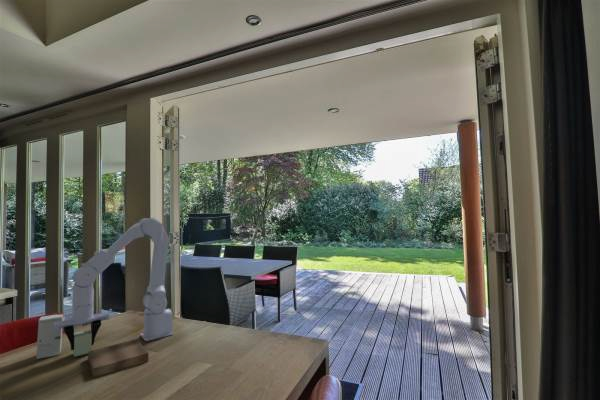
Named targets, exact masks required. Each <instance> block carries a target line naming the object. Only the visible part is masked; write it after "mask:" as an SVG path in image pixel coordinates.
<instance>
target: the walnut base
mask: <svg viewBox="0 0 600 400" xmlns="http://www.w3.org/2000/svg"><path fill="white" fill-rule="evenodd" d="M87 362H88V364H89V367H90V371H91V375H92V378H97V377H101V376H103V375H104V376H105V375H107V374H110V373H113V372H117V371H120V370H124V369H127V368H130V367H134V366H136V365H140V364H143V363H147V362H149V352H148V350H147V349H146V348H145V346H144V345H143V344H142V342H141V341H140V340H139V339H138V338H136V339H133V340H128V341H124V342H121V343H117V344H111V345H108V346H105V347H101V348H97V349H93V350H92V349H91V351H88V353H87Z"/></svg>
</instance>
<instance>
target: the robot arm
mask: <svg viewBox="0 0 600 400" xmlns="http://www.w3.org/2000/svg"><path fill="white" fill-rule="evenodd" d="M144 237H146V238H148V239H149V240H151V242H153V250H152V259H151V265H150V266H151V267H150V274H149V275H150V276H149V284H148V286H147V288H146V293H145V295H144V296H143V298H142V304H143V306H144V308H145V309H144V311H143V332H142V333H140V336H141V338H142V339H143V340H144V341H145V342H148V341H153V340H156V339H161V338H164V337H168V336H171V335H174V333H173V312H172V309H171V308H167V305H168V300H167V298H166V294H167V293H166V288H165V279H166V269H167V259H168V254H169V252H168V251H169V243H170V238H169V235H168V234H167V231H166V230H165V228H164V224H163V223H162V222H161V221H160V220H159V219H156V218H154V217H149V218H147V217H143V218H141V219H139V220H138V221H137V222H136V223H134V224H133V225H132V226H130V227H129V228H128V229H127V230H126V231H125V232H124V233H123V234H122V235H121V236H119V238H117V239H116V240H115V241H114V242H113V243H112V244H111V245H110V246H109V247H108V248H104V249H100V250H99V251H98V250H96V251H95V252H94V253H93V256H92V257H91V258H90V259H88V261H86V262H85V263H84V262H83V263H81V267H79V268H77V269H75V270H74V271H73V274H72V276H71V280H72V282H73V287H72V289H73V290H72V300H71V301H72V303H71V304H72V309H71V318H69V319H63V321H61V322H56V323H54V331H55V330H59V329H62V330H63V332H64V333H65V334H64V335H66V337H67V339H68V341H69V344H70V351H73V350H74V333H75V328H74V327H76V326H77V327H78V326H82V325H85V324H86V325H87V324H90V330H91V333H92V346H94V344H95V340H96V336H97V334H98V331H99V330H100V328H101V325H102V321H108V320H110V313H109V312H104V313H94V310H95V308H94V306H95V302H94V301H95V289H94V283H95V282H96V279H97V276H99V275H101V274H102V273H103V272H104V271H105V270H106V269H107V268H108V267H109V266H110V265H112V264H113V262H115V259H116V255H117V254H118V253H119V252H121V251H122V250H123V249H124V248H125V247H127V245H128V244H130V243H131V242H132V241H133V240H136V239H138V238H144Z"/></svg>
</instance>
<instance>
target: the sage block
mask: <svg viewBox="0 0 600 400" xmlns="http://www.w3.org/2000/svg"><path fill="white" fill-rule="evenodd" d="M92 346H93V345H92V333H91V329H86V330H82V331H79V332H74V350H72V352H73V357H74V358H75V357H78V356H83V355H86V354H87V355H88V351H92Z"/></svg>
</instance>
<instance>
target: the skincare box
mask: <svg viewBox="0 0 600 400" xmlns="http://www.w3.org/2000/svg"><path fill="white" fill-rule="evenodd" d="M61 321H64V314H63V313H60V314H51V315H44V316H43V315H42V316H40V318H39V320H38V323H37V324H38V327H37V341H36V343H37V344H36V357H35V358H36V360H39V359H43V358H49V357H54V356H58V355H61V351H62V344H63V328H62V329H59V330H55V331H54V323H56V322H61Z"/></svg>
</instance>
